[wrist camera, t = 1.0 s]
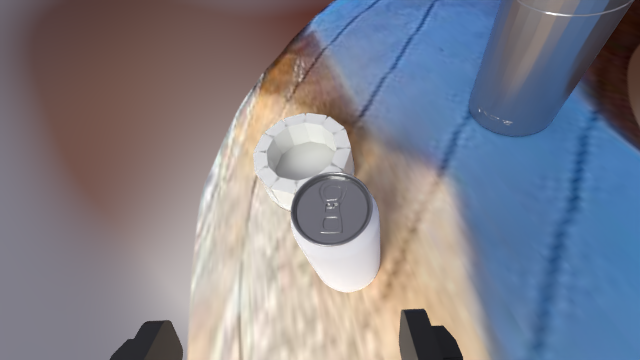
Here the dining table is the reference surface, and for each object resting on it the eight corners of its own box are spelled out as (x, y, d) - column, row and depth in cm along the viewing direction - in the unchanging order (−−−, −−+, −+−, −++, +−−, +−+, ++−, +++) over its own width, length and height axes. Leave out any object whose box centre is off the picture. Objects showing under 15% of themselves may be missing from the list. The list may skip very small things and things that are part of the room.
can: (378, 229, 32) (377, 164, 22) (382, 294, 29) (382, 252, 19) (317, 230, 33) (289, 168, 23) (313, 293, 30) (279, 253, 20)
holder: (314, 123, 41) (307, 98, 38) (374, 170, 36) (373, 146, 32) (248, 174, 39) (234, 152, 35) (302, 233, 33) (292, 215, 29)
